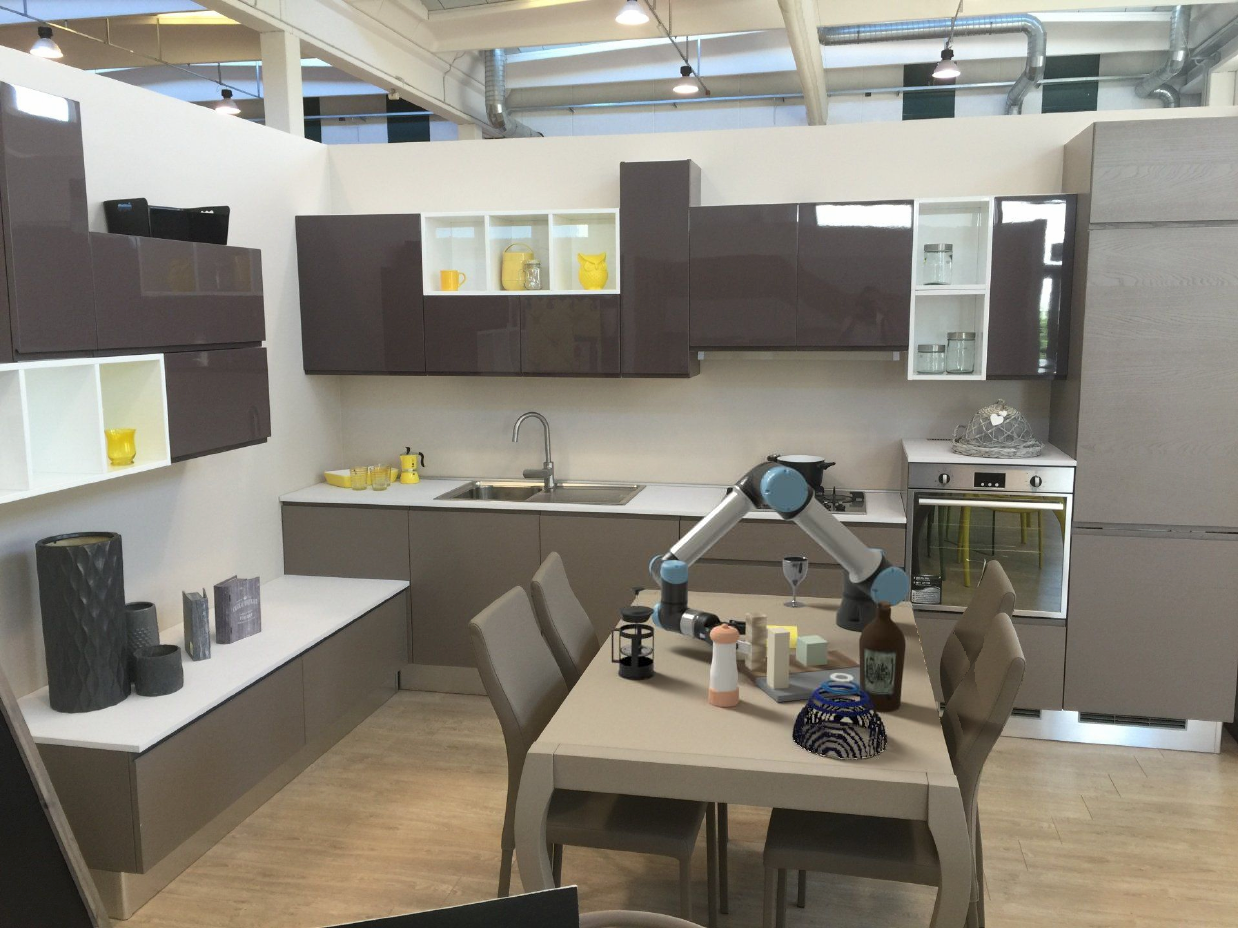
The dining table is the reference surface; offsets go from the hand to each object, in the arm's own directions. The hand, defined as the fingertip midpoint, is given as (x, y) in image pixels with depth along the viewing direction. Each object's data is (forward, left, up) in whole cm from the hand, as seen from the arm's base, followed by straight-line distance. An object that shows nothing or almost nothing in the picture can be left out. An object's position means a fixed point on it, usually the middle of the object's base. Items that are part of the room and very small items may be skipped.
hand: (766, 642), depth 257 cm
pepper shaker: (+17, +13, -9) cm, 23 cm away
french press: (+32, -11, -9) cm, 35 cm away
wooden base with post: (-10, -3, -9) cm, 14 cm away
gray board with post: (-10, +11, -9) cm, 17 cm away
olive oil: (-18, +25, -9) cm, 32 cm away
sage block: (-14, -3, -7) cm, 16 cm away
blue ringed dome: (+1, +40, -9) cm, 41 cm away
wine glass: (-36, -58, -9) cm, 69 cm away
